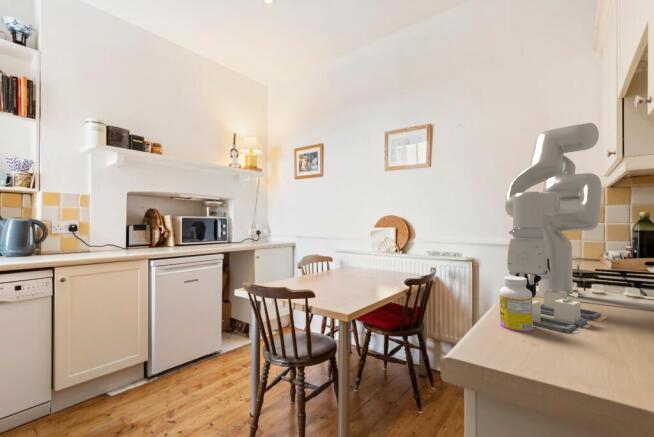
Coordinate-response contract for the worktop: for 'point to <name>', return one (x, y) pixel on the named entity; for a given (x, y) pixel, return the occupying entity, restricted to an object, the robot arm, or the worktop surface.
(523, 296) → the supplement bottle
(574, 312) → the white block with ridge
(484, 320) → the worktop surface
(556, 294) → the white switch slider block
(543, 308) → the switch board
